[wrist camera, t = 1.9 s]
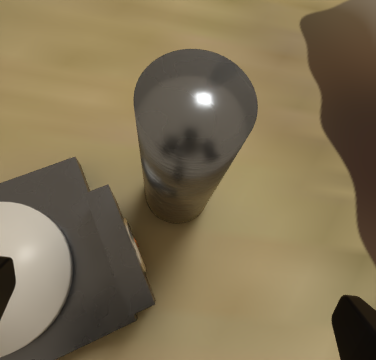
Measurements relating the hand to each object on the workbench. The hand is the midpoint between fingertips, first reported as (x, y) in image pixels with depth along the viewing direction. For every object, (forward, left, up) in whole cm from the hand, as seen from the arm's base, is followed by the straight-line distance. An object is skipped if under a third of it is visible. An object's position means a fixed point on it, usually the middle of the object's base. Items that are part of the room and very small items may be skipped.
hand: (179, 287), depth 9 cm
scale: (+4, +8, -13) cm, 16 cm away
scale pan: (+4, +9, -11) cm, 15 cm away
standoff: (+5, -3, -13) cm, 14 cm away
